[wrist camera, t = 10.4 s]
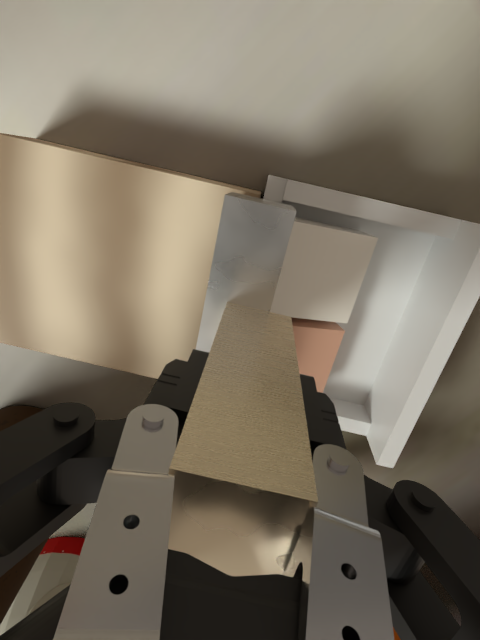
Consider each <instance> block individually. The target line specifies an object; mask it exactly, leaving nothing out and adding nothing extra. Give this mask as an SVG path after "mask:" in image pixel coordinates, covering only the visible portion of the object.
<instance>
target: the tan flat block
mask: <svg viewBox="0 0 480 640" xmlns="http://www.w3.org/2000/svg"><path fill="white" fill-rule="evenodd" d="M230 192H236V193H240V194H244V195H248V196H253V197H257V198H261V193H262V191H257V190H253V189H249V188H245V187H240V186H236V185H232V184H227V183H223V182H219V181H215V180H210V179H206V178H202V177H198V176H193V175H189V174H185V173H180V172H176V171H172V170H168V169H163V168H159V167H155V166H150V165H146V164H142V163H138V162H133V161H129V160H125V159H120V158H116V157H112V156H108V155H103V154H99V153H95V152H90V151H86V150H82V149H78V148H73V147H69V146H65V145H61V144H56V143H52V142H48V141H43V140H39V139H35V138H28V137H22V136H16V135H9V134H3V133H0V343H4V344H9V345H13V346H17V347H22V348H26V349H30V350H35V351H39V352H43V353H48V354H52V355H56V356H61V357H65V358H69V359H73V360H78V361H82V362H86V363H91V364H95V365H99V366H104V367H108V368H112V369H117V370H121V371H125V372H130V373H134V374H138V375H143V376H147V377H151V378H156V379H158V378H159V376H160V375H161V373H162V371H163V369H164V367H165V365H166V364H168V363H170V362H171V361H173V360H175V359H179V360H183V361H187V362H188V359H189V357H190V355H191V353H192V350H193V349H196V345H197V340H198V334H199V329H200V324H201V318H202V313H203V308H204V302H205V297H206V292H207V287H208V281H209V276H210V271H211V265H212V260H213V255H214V250H215V244H216V239H217V234H218V228H219V223H220V218H221V212H222V207H223V202H224V197H225V194H228V193H230Z"/></svg>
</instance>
